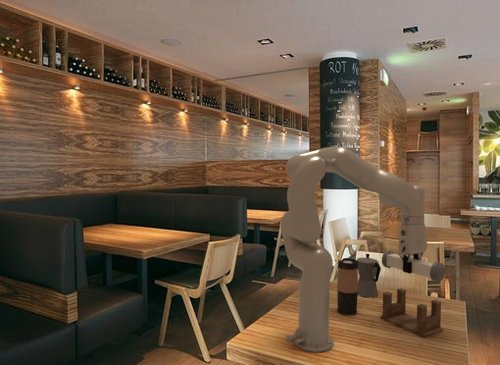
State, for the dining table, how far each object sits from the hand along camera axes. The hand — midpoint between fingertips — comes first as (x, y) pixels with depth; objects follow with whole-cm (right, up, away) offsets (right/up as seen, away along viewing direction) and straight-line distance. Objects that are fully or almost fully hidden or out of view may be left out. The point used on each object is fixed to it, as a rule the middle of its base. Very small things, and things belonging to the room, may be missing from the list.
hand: (411, 271), depth 133 cm
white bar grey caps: (0, -1, 0) cm, 1 cm away
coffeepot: (-5, -18, +32) cm, 37 cm away
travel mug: (-20, -19, +13) cm, 30 cm away
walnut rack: (0, -19, +1) cm, 19 cm away
